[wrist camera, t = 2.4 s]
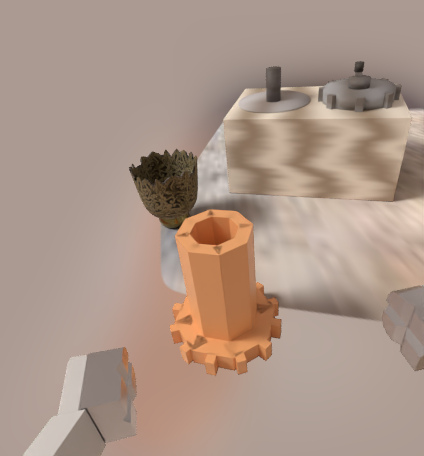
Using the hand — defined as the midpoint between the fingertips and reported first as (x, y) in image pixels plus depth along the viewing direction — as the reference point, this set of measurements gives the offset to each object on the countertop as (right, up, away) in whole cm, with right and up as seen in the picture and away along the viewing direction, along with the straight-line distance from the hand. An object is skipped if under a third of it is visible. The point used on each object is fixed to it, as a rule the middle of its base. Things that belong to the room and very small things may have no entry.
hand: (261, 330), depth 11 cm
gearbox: (+12, +11, +38) cm, 42 cm away
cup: (-6, +4, +32) cm, 33 cm away
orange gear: (0, -5, +19) cm, 19 cm away
